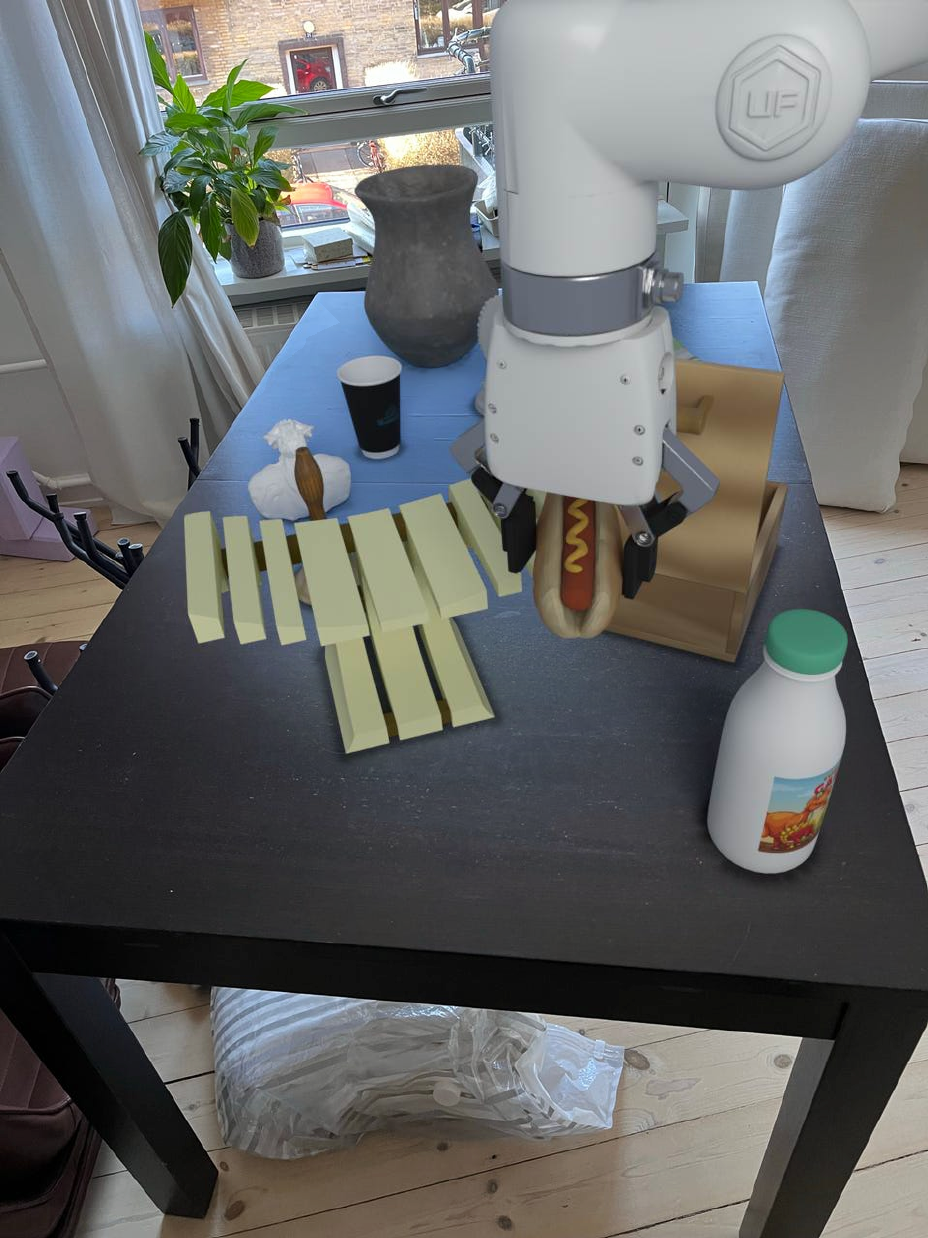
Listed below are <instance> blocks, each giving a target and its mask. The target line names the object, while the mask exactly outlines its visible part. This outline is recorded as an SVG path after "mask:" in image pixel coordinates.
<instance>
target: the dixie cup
mask: <svg viewBox="0 0 928 1238" xmlns="http://www.w3.org/2000/svg"><path fill="white" fill-rule="evenodd" d="M402 370H403V365H402V363H401V362H400V361H399V360H397V359H396V358H393V357H392V356H391V357H390V356H385V355H368V356H366V355H365V356H361V357H357V358H353V359H351V360H348V361H346V362H344V363H343V364H341V365H340V366H339V367H338V369H337V370H336V377H337V379H338V380H339V381H340V384H341V387H342V391H343V395H344V397H345V401H346V405H347V408H348V413H349V415H350V419H351V423H352V426H353V430H354V433H355V436H356V441H357V443H358V447H359V448H360V449H361V452H362V454H363V455H364V456H365V457H366V458H369V459H372V460H381V459H388V458H390V457H392V456H394V455H396V454H397V453H398V452H399V450H400V444H401V442H402V438H401V437H402V433H401V432H402V431H401V429H402V427H401V415H402V414H401V373H402Z"/></svg>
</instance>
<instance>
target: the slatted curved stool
mask: <svg viewBox="0 0 928 1238" xmlns="http://www.w3.org/2000/svg"><path fill="white" fill-rule="evenodd" d="M526 494H527V495H529V496H533V501H535V503H536V524H537V521H538V519H539V516H540V514H541V511H542V508H543V505H544V501H545V497H546V494H547V492H544V491H538V490H533V489H528V490H527V492H526ZM444 499H445V498H444V497H443V495H442V493H437V494H434V495H430V496H427V497H424V498H420V499H417V500H413V501H410V502H406V503H403V504H399V505H398V512H396V513H395V512H394V513H392V512H391V510H390V508H389V507H387V508H383V509H378V510H375V511H370V512H365V513H359V514H353V515H348V516H347V523H342V524H340V523H339V519H338V517H333V518H327V519H325V520H317V521H310V520H309V521H301V522H300V521H299V522H294V524H293V525H294V529H295V533H292V534H288V535H287V533H286V530H285V526H284V521H283V519H263V520H259V521H258V522H259V527H260V535H261V540H259V541H255V539H254V535H253V532H252V528H251V524H250V521H249V517H248V515H233V516H223V517H222V523H223V532H224V542H225V547H223V546H222V542H221V539H220V536H219V533H218V529H217V526H216V523H215V520H214V518H213V515H212V513H211V511H208V510H207V511H198V512H193V513H192V512H191V513H187V514H185V515H184V516H183V521H184V523H183V524H184V525H183V526H184V550H185V552H184V553H185V572H186V573H185V574H186V575H185V577H186V597H187V599H186V601H187V615H188V618H189V620H190V624H191V626H192V628H193V632H194V635H195V638H196V640H197V644H202V643H207V642H212V641H216V640H220V639H225V636H226V635H225V626H224V625H225V624H224V612H223V611H224V610H223V596H222V595H223V594H224V593H226V592H229V591H230V600H231V609H232V620H233V624H234V627H235V631H236V634H237V637H238V640H239V644H240V645H245V644H249V643H252V642H253V643H254V642H258V641H262V640H267V633H266V627H265V619H264V612H263V611H264V610H263V604H262V597H261V588H260V587H261V586H263V580H262V573H261V572H265V571H267V576H268V577H267V579H268V583H269V589H270V597H271V602H272V607H273V609H272V610H273V614H274V615H273V616H274V619H275V625H276V630H277V634H278V638H279V642H280V645H281V646H285V645H290V644H294V643H299V642H303V641H307V640H308V639H307V634H306V630H305V625H304V620H303V614H302V610H301V605H300V600H299V599H298V594H297V583H296V578H295V577H296V573H295V569H294V566H295V565H300V564H302V567H303V566H304V571H305V576H306V580H307V585H308V589H309V594H310V599H311V603H312V606H311V607H312V610H313V611H312V612H313V616H314V621H315V626H316V630H317V635H318V638H319V642H320V646H321V647H324V659H325V665H326V669H327V673H328V678H329V682H330V688H331V692H332V696H333V697H332V698H333V701H334V705H335V710H336V715H337V718H338V719H337V720H338V723H339V728H340V733H341V738H342V741H343V742H342V743H343V746H344V750H345V751H344V752H345V754H350V753H355V752H358V751H359V752H360V751H362V750H363V751H364V750H366V749H371V748H375V747H379V746H383V745H387V744H390V739H389V738H392V737H396V736H398V739H399V741H403V740H407V739H411V738H416V737H421V736H424V735H427V734H432V733H435V732H440V731H443V730H444V729H443V725H446V724H449V723H451V725H452V727H453V728H457V727H460V726H464V725H468V724H472V723H477V722H480V721H485V720H489V719H493V718H496V716H495V713H494V711H493V708H492V706H491V704H490V701H489V699H488V697H487V694H486V692H485V689H484V687H483V685H482V682H481V680H480V677H479V675H478V672H477V669H476V667H475V666H474V663H473V660H472V658H471V655H470V653H469V650H468V648H467V645H466V643H465V641H464V638H463V636H462V634H461V630H460V628H459V627H458V625H457V623H456V622H455V620H454V617H459V616H462V615H466V614H467V615H468V614H472V613H475V612H480V611H484V610H485V611H486V610H488V609H489V607H488V605H489V604H488V591H487V588H486V585H485V583H484V581H483V580H482V577H481V575H480V573H479V571H478V569H477V567H476V565H475V562H474V561H473V558H472V556H471V554H470V552H469V550H471V549H472V550H473V552H474V553H475V555H476V557H477V558H478V560H479V562H480V563H481V566H482V568H483V569H484V571H485V572H486V574H487V577H488V579H489V580H490V582H491V585H492V586H493V589H494V590H495V592H496V594H497V596H498V598H500V597H505V596H509V595H514V594H519V593H522V592H523V582H522V577H523V576H522V571H521V572H518V573H517V574H516V573H511V572H509V571H508V559H507V552H504V551H503V548H502V535H501V520H500V518H498V517H496V516H495V515H494V514H493V513H492V510H491V507H492V503H491V502H490V501H489V500H488V499H487V498H486V497H485V496H484V495H483V494H482V493H481V492H480V491H479V490H478V489H477V488H476V487H475V486H474V484H473V483H472V481H471V477H470V478H467V479H464V480H460V481H458V482H455V483H452V484H449V485H448V502H446V501H445V500H444ZM348 553H352V554H353V556H354V558H355V562H356V568H357V573H358V579H359V584H360V585H358V586H357V585H356V582H355V578H354V575H353V571H352V568H351V565H350V561H349V558H348ZM535 555H536V551H535V552H534V554H533V555H532V557H531V558H530V559H529V561H528V562H527V564H526V565H525V568H526V569H527V571H528V572H529V575H530V576H531V579H533V566H534V560H535ZM414 626H417V628H418V632H419V635H420V639H421V641H422V644H423V647H424V650H425V652H426V655H427V658H428V661H429V663H430V666H431V669H432V671H433V675H434V677H435V680H436V684H437V686H438V689H439V691H440V695H441V697H442V699H441V700H437V699H436V697H435V694H434V690H433V688H432V685H431V681H430V679H429V676H428V672H427V669H426V667H425V664H424V660H423V657H422V653H421V650H420V648H419V644H418V641H417V638H416V634H415V633H416V632H415V630H414ZM369 636H370V640H371V644H372V648H373V652H374V655H375V658H376V661H377V666H378V668H379V672H380V675H381V679H382V682H383V686H384V689H385V693H386V696H387V699H388V704H389V706H390V711H391V712H385V713H383V709H382V706H381V702H380V698H379V694H378V691H377V688H376V682H375V680H374V676H373V673H372V669H371V665H370V661H369V657H368V653H367V649H366V645H365V642H364V638H365V637H369Z"/></svg>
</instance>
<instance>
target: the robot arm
mask: <svg viewBox="0 0 928 1238" xmlns="http://www.w3.org/2000/svg"><path fill="white" fill-rule="evenodd" d="M927 63H928V0H506V1H505V2H504V3H503V4H502V5H500V7H499V8H498V9H497V10H496V13H495V14H494V16H493V19H492V22H491V25H490V28H489V35H488V66H489V67H488V68H489V69H488V70H489V83H490V97H491V98H490V100H491V101H490V102H491V114H492V115H491V118H492V136H493V137H492V138H493V154H494V170H495V171H494V172H495V173H494V174H495V185H496V186H495V188H496V204H497V205H496V206H497V224H498V226H497V227H498V244H499V262H500V263H499V265H500V281H501V282H500V283H501V295H502V302H503V305H502V306H501V307H500V309H499V310H498V311H497V312H496V313H495V315H494V317H493V323H492V328H491V335H490V342H489V349H488V358H487V363H486V366H487V367H486V369H485V377H486V380H485V379H484V380H485V409H484V416H483V417H482V418H481V419H480V420H478V421H477V422H475V423H474V424H473V425H472V426H470V427H469V428H468V429H467V430H466V431H464V432H463V433H462V434H460V435H459V436H458V437H457V438H456V439H455V440H454V441H453V442H452V444H451V445H450V446H449V448H448V451H449V453H450V455H451V457H452V458H453V459H454V460H455V461H456V463H457V464H458V465H459V466H460V467H461V469H462V470H464V472H465V473H466V474H469V476H470V478H471V481H472V483H473V484H474V486H475V487H476V489H477V491H478V490H479V491H480V492H481V493H482V494H483V495H484V496H485V497H486V498H487V499H488V500H489V501H490V502H491V503H492V507H491V510H492V513H493V514H494V515H495V516H496V517H498V518H500V520H501V535H502V548H503V551H504V552H507V559H508V571H509V572H511V573H516V574H517V573H518V572H521V573H522V571H523V570H524V569H525V568H526V566H525V565H526V564H527V562H528V561H529V559H530V558H531V557H532V555H533V554H534V552H535V551H536V503H535V501H533V496H529V495H527V494H526V492H527V490H528V489H533V490H538V491H544V492H549V493H554V494H560V495H565V496H571V497H576V498H582V499H587V500H593V501H599V502H604V503H610V504H616V505H617V507H618V509H619V511H620V513H621V515H622V517H623V519H624V521H625V523H626V525H627V527H628V529H629V531H630V536H629V537H628V539H627V541H626V543H625V545H624V548H623V571H622V578H623V579H622V595H624V598H627V599H632V600H633V599H634V598H635V596H636V594H637V592H638V590H639V588H640V586H641V584H642V582H643V581H644V582H649V583H650V582H651V580H652V578H653V576H654V573H655V569H656V563H657V548H658V537H660V536H661V535H663V534H665V533H666V532H668V531H670V530H671V529H673V528H674V527H676V526H678V525H679V524H681V523H682V522H683V521H684V519H685V518H686V517H688V516H689V515H691V514H693V513H695V512H696V511H697V510H699V509H700V508H702V507H703V506H704V505H706V504H707V503H708V502H710V501H711V500H712V499H713V498H714V496H715V494H716V492H717V490H718V488H719V485H720V482H719V479H718V478H717V477H716V476H715V475H714V474H713V473H712V472H711V471H710V470H709V469H708V468H707V467H706V466H705V465H704V464H703V463H702V462H701V461H700V460H699V459H698V458H697V457H696V456H695V455H694V454H693V453H692V452H691V451H690V450H689V449H688V448H687V447H686V446H685V445H684V444H683V443H682V442H681V441H680V440H679V439H678V438H677V437H676V375H675V358H674V346H673V338H672V336H673V331H672V325H671V319H670V313H669V311H668V310H667V309H666V308H665V307H663V306H660V305H661V304H664V303H665V302H671V303H673V302H674V303H679V302H680V301H681V298H682V295H683V291H684V290H683V289H684V285H685V275H684V273H683V272H682V271H681V272H680V271H679V272H678V271H670V270H669V268H667V267H663V265H662V261H660V252H661V251H660V249H659V248H656V246H657V234H658V233H657V232H658V231H657V229H658V214H659V213H658V212H659V195H660V194H659V192H660V182H662V183H672V184H681V185H689V186H696V187H703V188H709V189H710V188H711V189H716V190H717V189H718V190H728V191H729V190H730V191H746V192H747V191H762V190H769V189H774V188H778V187H782V186H786V185H788V184H791V183H793V182H796V181H798V180H800V179H802V178H805V177H807V176H808V175H810V174H812V173H813V172H815V171H817V170H818V169H819V168H821V167H822V166H823V165H825V164H826V163H827V162H828V161H829V160H831V159H832V157H833V156H835V155H836V154H837V152H838V151H839V150H840V149H841V147H842V146H843V145H844V144H845V143H846V142H847V140H848V139H849V137H850V136H851V135H852V133H853V131H854V130H855V128H856V126H857V125H858V122H859V120H860V118H861V116H862V114H863V111H864V108H865V106H866V103H867V98H868V96H869V95H868V94H869V89H870V84H871V83H873V82H875V81H877V80H879V79H882V78H885V77H888V76H891V75H893V74H896V73H899V72H902V71H905V70H908V69H911V68H914V67H917V66H920V65H923V64H927ZM657 304H660V305H657ZM484 447H485V448H484ZM663 471H666V472H667V473H668V474H669V475H670V476H671V477H672V478H673V479H674V480H675V481H676V482H677V483H678V484H679V485H680V486H681V487H682V490H681V491H679V492H676V493H674V494H673V495H671V496H670V497H668V498H667V499H665V500H663V501H662V500H661V498H660V496H659V494H658V491H657V489H656V483H657V482H658V479H659V474H660V472H663Z"/></svg>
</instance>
